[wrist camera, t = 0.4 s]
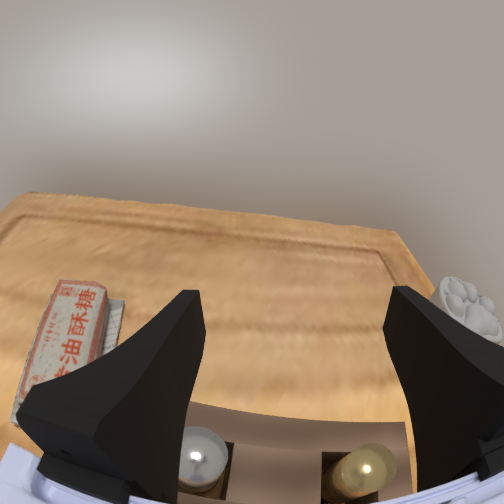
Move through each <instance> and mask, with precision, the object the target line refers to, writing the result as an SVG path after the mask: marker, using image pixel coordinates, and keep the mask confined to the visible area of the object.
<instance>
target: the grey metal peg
mask: <svg viewBox="0 0 504 504" xmlns="http://www.w3.org/2000/svg"><path fill="white" fill-rule="evenodd" d="M227 460H228V450H227V447H226V444H225V442H224V441H223V439H222V438H221V437H220V436H219V435H218V434H217V433H215V432H214V431H212V430H210V429H207V428H204V427H200V426H189V427H185V428H184V433H183V441H182V449H181V457H180V468H179V480H178V485H179V486H180V487H182V488H183V489H185V490H187V491H190V492H197V493H199V492H205V491H208V490H210V489H212V488H213V487H214V486H215V485H216V484H217V483H218V481H219V479H220V477H221V475H222V473H223V470H224V468H225V466H226V464H227Z"/></svg>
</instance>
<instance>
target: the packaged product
mask: <svg viewBox="0 0 504 504" xmlns="http://www.w3.org/2000/svg"><path fill="white" fill-rule="evenodd" d="M124 303H125V301H124V300H114V299H108V297H107V289H106V287H105V286H103V285H101V284H98V283H96V282H95V281H91V282H88V281H78V280H70V279H60V280H59V282H58V285H57V287H56V288H55V290H54V293H53V294H51V296H50V300H49V302H48V304H47V307H46V309H45V311H44V314H43V316H42V319H41V321H40V324H39V327H38V329H37V332H36V335H35V338H34V340H33V342H32V346H31V349H30V351H29V354H28V357H27V360H26V364H25V366H24V370H23V374H22V377H21V379H20V382H19V386H18V390H17V393H16V397H15V401H14V404H13V410H12V414H11V417H10V422H12V423H14V424H15V425H17V426H19V424H18V422H17V420H16V412H17V411H18V409H19V407H20V406H21V404H22V402H23V400H24V399H25V397H26V395H27V394H28V392H29V391H30V389H31V387H32V386H33V385H36V384H39V383H42V382H45V381H48V380H51V379H54V378H57V377H60V376H62V375H65V374H67V373H70V372H72V371H74V370H76V369H79V368H81V367H83V366H85V365H87V364H89V363H91V362H92V361H94V360H96V359H98V358H99V357H101V356H103V355H105V354H106V353H108V352H110V351H111V350H113V349H114V348H116V347H117V337H118V333H119V329H120V325H121V319H122V312H123V306H124Z"/></svg>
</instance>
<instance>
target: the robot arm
mask: <svg viewBox="0 0 504 504" xmlns="http://www.w3.org/2000/svg"><path fill="white" fill-rule="evenodd" d="M383 332H384V336H385V341H386V345H387V348H388V352H389V354H390V357H391V360H392V362H393V365H394V367H395V370H396V373H397V375H398V378H399V380H400V383H401V386H402V388H403V391H404V394H405V397H406V400H407V404H408V408H409V413H410V417H411V422H412V428H413V435H414V441H415V450H416V461H417V493H414V494H410V495H407V496H403V497H399V498H395V499H390V500H386V501H381V502H376V503H371V504H504V347H502V346H500V345H498V344H496V343H493V342H491V341H490V340H488V339H486V338H484V337H482V336H480V335H479V334H477V333H475V332H473V331H472V330H470V329H468V328H467V327H465V326H464V325H462V324H461V323H459V322H458V321H456V320H455V319H453V318H452V317H451V316H449V315H448V314H446V313H445V312H444V311H442V310H441V309H440V308H438V307H437V306H435V305H434V304H433V303H431V302H430V301H429V300H427V299H426V298H425V297H423V296H422V295H421V294H419V293H418V292H416V291H415V290H413V289H412V288H410V287H408V286H393V289H392V293H391V297H390V301H389V306H388V310H387V314H386V317H385V321H384V325H383ZM205 336H206V330H205V324H204V318H203V312H202V306H201V299H200V293H199V290H182V291H181V292H180V293H179V294H178V295H177V296H176V297H175V298H174V299H173V300H172V301H171V302H170V303H169V304H168V305H167V306H165V307H164V308H163V309H162V310H161V311H160V312H159V313H158V314H157V315H156V316H155V317H154V318H153V319H151V320H150V321H149V322H148V323H147V324H146V325H144V326H143V327H142V328H141V329H140V330H138V331H137V332H136V333H135V334H134V335H132V336H131V337H130V338H129V339H127V340H126V341H124V342H123V343H122V344H120V345H119V346H117V347H116V348H114V349H113V350H111V351H110V352H108V353H106V354H105V355H103V356H101V357H99V358H98V359H96V360H94V361H92V362H91V363H89V364H87V365H85V366H83V367H81V368H79V369H76V370H74V371H72V372H70V373H67V374H65V375H62V376H60V377H57V378H54V379H51V380H48V381H45V382H42V383H39V384H36V385H33V386H32V387H31V389H30V391H29V392H28V394H27V395H26V397H25V399H24V400H23V402H22V404H21V406H20V407H19V409H18V411H17V412H16V420H17V422H18V424H19V426H20V427H21V428H22V430H23V431H24V432H25V433H26V434H27V435H28V436H29V437H30V438H31V439H32V440H33V441H34V442H35V443H36V444H37V445H38V446H39V447H40V448H41V449H42V450H43V451H44V454H43V456H42V458H40V457H38V456H37V455H35V454H33V453H31V452H30V451H27V450H25V449H23V448H21V447H19V446H18V445H16V444H14V443H10V444H9V446H8V448H7V450H6V452H5V454H4V456H3V458H2V460H1V462H0V504H177V499H178V480H179V468H180V457H181V449H182V441H183V433H184V427H185V420H186V414H187V409H188V405H189V401H190V397H191V394H192V390H193V387H194V384H195V380H196V377H197V373H198V370H199V366H200V363H201V359H202V356H203V349H204V343H205Z"/></svg>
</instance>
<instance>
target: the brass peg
mask: <svg viewBox="0 0 504 504" xmlns="http://www.w3.org/2000/svg"><path fill="white" fill-rule="evenodd" d="M396 470H397V463H396V459H395V457H394V455H393V453H392V452H391V451H390V450H389V449H388V448H387V447H386V446H384V445H382V444H379V443H367V444H364V445H362V446H360V447H358V448H357V449H355V450H354V451H353V452H351V453H350V454H348V455H347V456H345V457H344V458H342V459H341V460H339V461H338V462H336V463H334V464H333V465H331V466H330V467H328V468H326V469H325V470H324V471H323V472H322V473H321V497H322V498H323V499H324V500H325V501H327V502H329V503H333V504H341V503H345V502H348V501H351V500H354V499H357V498H359V497H362V496H365V495H368V494H370V493H373V492H376V491H378V490H381V489H383V488H385V487H386V486H388V485H389V484H390V483H391V482H392V480H393V479H394V477H395V474H396Z"/></svg>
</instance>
